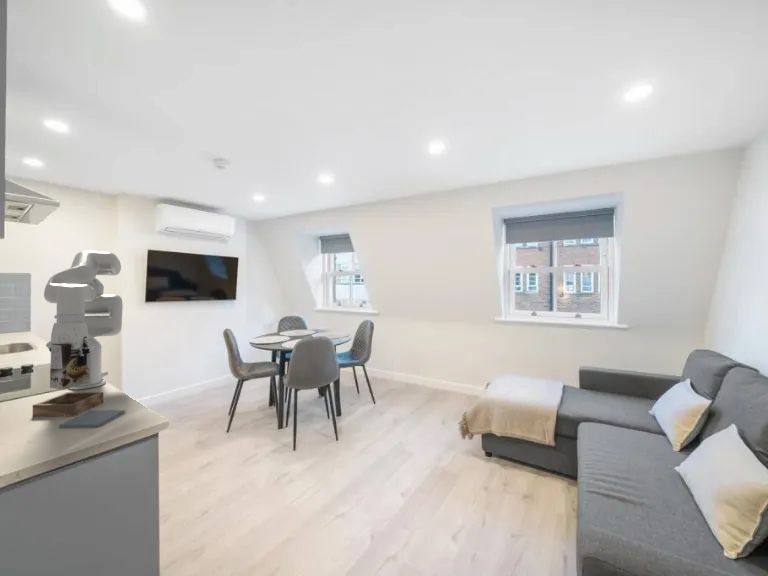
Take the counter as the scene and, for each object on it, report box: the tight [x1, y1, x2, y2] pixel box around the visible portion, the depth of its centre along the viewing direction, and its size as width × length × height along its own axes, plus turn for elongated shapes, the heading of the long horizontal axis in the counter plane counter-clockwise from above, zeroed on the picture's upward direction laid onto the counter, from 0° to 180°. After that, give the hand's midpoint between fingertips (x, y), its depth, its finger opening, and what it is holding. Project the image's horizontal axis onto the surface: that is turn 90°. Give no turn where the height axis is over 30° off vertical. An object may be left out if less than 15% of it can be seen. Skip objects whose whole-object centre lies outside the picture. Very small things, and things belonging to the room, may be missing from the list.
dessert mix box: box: [49, 343, 90, 391], centre depth 121 cm, size 9×6×16 cm
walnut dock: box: [32, 391, 104, 418], centre depth 121 cm, size 13×13×4 cm
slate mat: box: [58, 409, 126, 429], centre depth 112 cm, size 12×12×1 cm
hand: (70, 365), depth 121 cm, fingers closed on dessert mix box, 7 cm apart
